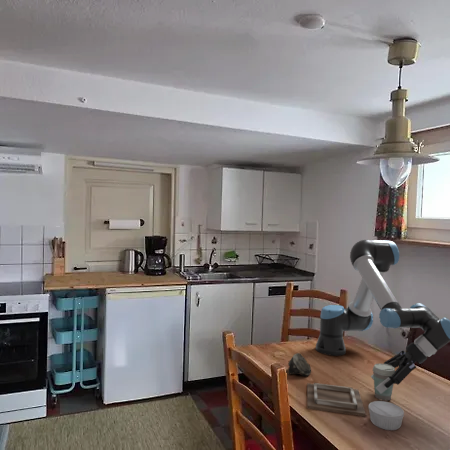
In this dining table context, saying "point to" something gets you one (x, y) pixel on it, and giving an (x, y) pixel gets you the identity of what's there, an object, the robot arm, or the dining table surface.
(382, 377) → the coffee cup
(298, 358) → the fossil
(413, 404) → the dining table surface
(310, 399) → the locating board
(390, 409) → the ramekin
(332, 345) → the robot arm
